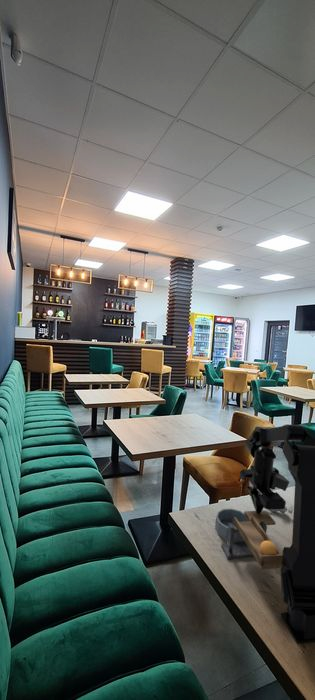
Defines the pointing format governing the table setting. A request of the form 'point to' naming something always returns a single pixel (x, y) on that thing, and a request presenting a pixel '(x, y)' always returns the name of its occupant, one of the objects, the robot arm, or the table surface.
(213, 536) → the table surface
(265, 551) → the ball
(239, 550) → the lever stand
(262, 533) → the lever
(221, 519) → the cup
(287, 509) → the soldier figure
